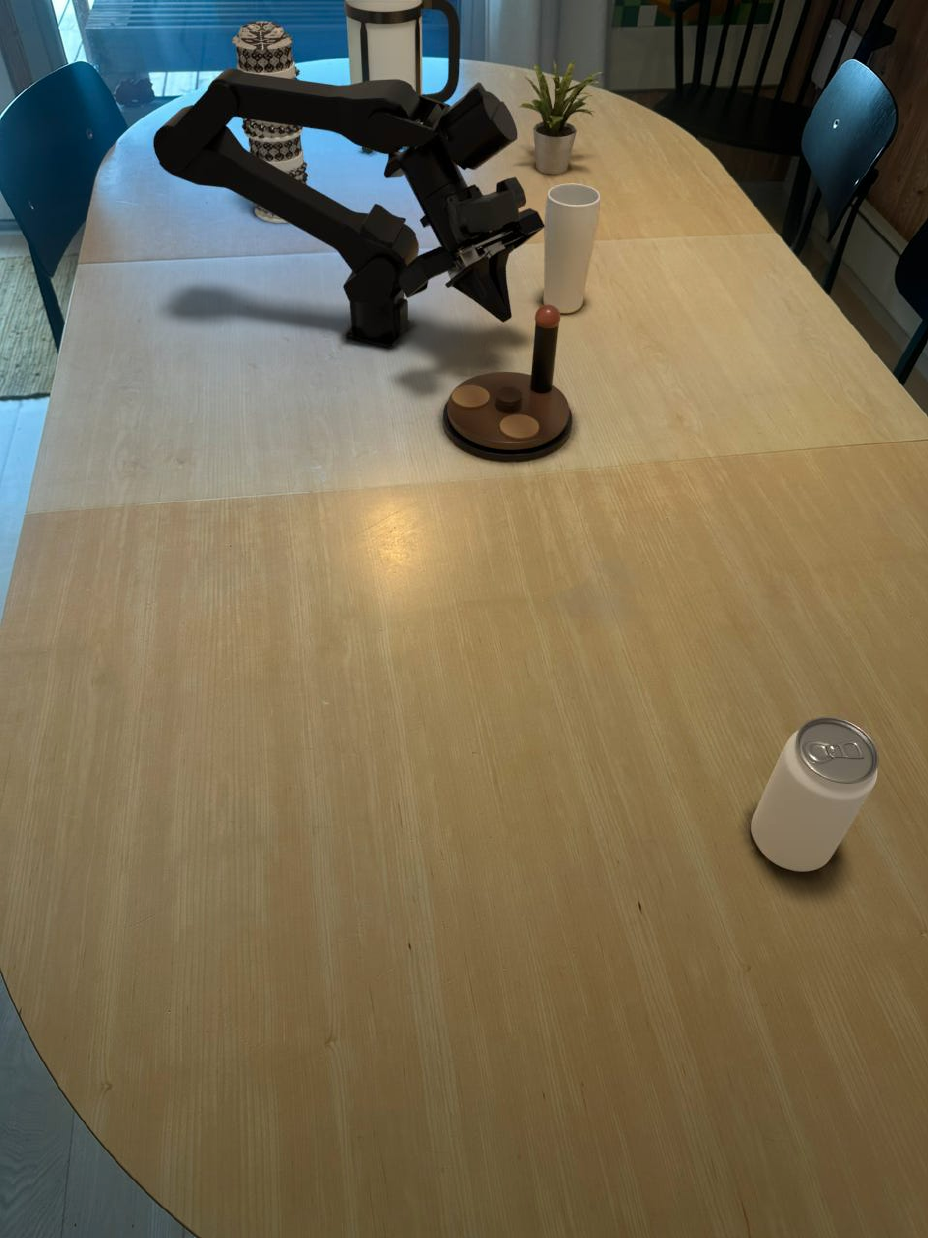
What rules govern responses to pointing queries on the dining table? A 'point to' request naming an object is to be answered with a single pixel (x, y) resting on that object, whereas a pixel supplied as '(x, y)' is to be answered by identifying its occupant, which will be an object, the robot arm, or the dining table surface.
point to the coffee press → (397, 42)
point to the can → (815, 793)
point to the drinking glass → (569, 243)
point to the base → (506, 454)
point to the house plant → (556, 119)
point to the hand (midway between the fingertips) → (507, 320)
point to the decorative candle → (272, 142)
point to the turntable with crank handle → (514, 398)
